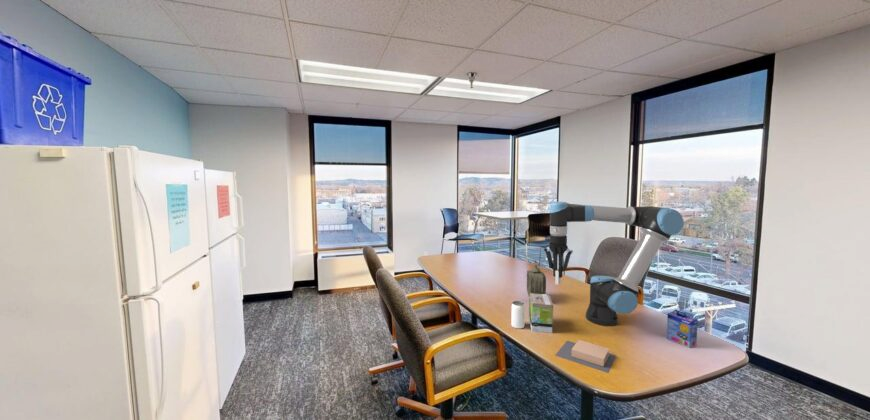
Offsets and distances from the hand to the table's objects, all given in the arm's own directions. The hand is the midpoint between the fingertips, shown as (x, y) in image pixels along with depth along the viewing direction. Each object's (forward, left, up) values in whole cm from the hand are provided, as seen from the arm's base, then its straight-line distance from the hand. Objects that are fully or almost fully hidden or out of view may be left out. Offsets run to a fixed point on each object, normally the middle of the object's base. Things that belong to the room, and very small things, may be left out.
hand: (557, 283), depth 154 cm
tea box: (+7, -5, -24) cm, 26 cm away
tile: (-4, +19, -22) cm, 29 cm away
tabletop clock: (+4, -41, -24) cm, 48 cm away
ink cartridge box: (-53, +2, -24) cm, 58 cm away
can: (+18, -4, -24) cm, 30 cm away
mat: (-7, +21, -24) cm, 33 cm away
